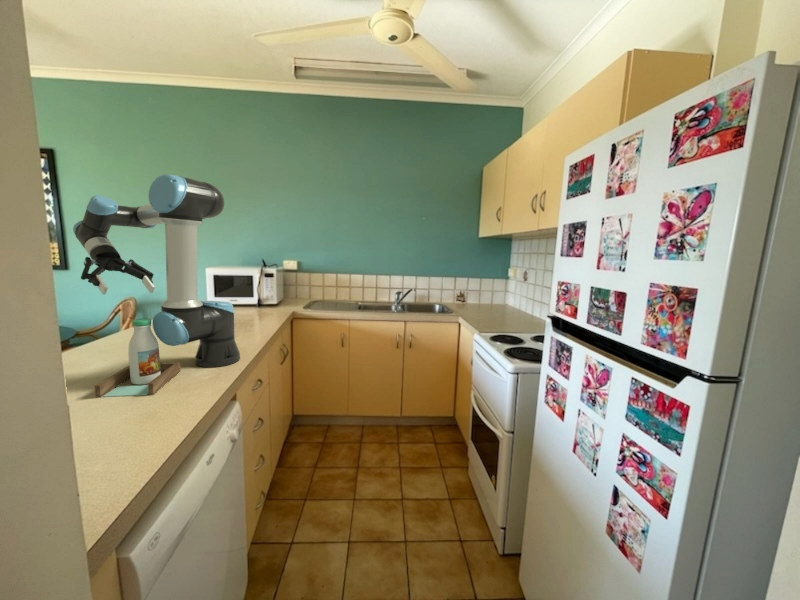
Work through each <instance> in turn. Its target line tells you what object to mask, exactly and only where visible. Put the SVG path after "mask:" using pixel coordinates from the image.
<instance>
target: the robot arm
mask: <svg viewBox="0 0 800 600" xmlns="http://www.w3.org/2000/svg"><path fill="white" fill-rule="evenodd" d="M148 201H149V204H145V205H141V206H135V207H133V206H127V205H119V204H118V202H117V201H115V200H114V199H112V198H110V197H106V196H104V195H93V196H91V198H90V199H89V201H88V203H87V205H86V208H85V211H84V215H83V219H82V220H80V221H78V222H76V223H75V224H74V225H73V228H72V231H73V233H74V235H75V237H76V239H77V240H78V242H80V244H81V246H82V247H83V248H84V250H85V252H87V254H88V256H89V257H88V256H86V257H85V259H84V262H83V266H84V268H83V270H82V273H81V276H80V279H81V280H83V281H85V280H87V282H88V283H90V284H92V285H93V286H94V287H97V288H98V290H99V291H100V293H101V295H106V294H107V291H108V289H109V286H107V284H106V283H105V281H104V280H103V278H102V277H101V274H103V273H104V272H105V271H108V272H120V273H122V274H128V275H129V276H133V277H135V278H136V279H139V280H141V283H142V285H143V286H145V288H146V289H147V291H148V292H149V293H150V294H153V293H154V290H155V288H156V286H155V285H154V281H153V278H154V273H153V272H151V271H150V270H148V269H146V268H145V267H143V266H141V265H140V264H138V263H137V262H135V261H134V260H133V259H131V258H130V259H129V261H127V260H124V259H122V257H121V254H120V253H119V252H118V250H117V249H116V248H115V246H114V244H113V243H112V242H111V241H110V240H109V238H108V234H109V231H110V230H111V228H112V226H115V227H129V228H130V227H131V228H141V229H153V228H155V227H156V226H157V225H160V224H164V229H165V231H164V232H165V234H164V235H165V265H166V267H165V271H166V273H165V274H166V275H165V276H166V277H165V279H166V300H165V301H163V302H162V303H161V305H160V306H161V307H160V308H161V311H159V312H157V313H156V314H155V315H154V317H153V318H152V328H153V331H154V333H155V335H156V336H155V337H156V338H158V339H159V341H160V342H162V343H163V344H164V345H167V346H170V347H176V346H180V345H186V344H188V343H189V344H190V343H193V342H197V341H199V345H198V346H197V350H196V353H195V357H194V363H195V365H196V366H199V367H202V368H216V367H219V368H220V367H225V366H229V365H232V364H235V363H237V362H239V361H240V360H241V352H240V350H239V348H238V345H237V342H236V340H235V338H236V337H235V312H234V305H233V304H232V302H229V301H220V300H199V298H198V290H199V289H198V286H199V285H198V227H199V226H200V225H201V224H202V223H203V219H204V220H205V219H210V218H215V217H218V216H220V215H221V213H222V212H223V210H224V207H225V199H224V196H223V194H222V192H221V191H220V190H219V188H217V186H214V185H213V184H211V183H208V182H205V181H200V180H198V179H197V180H196V179H192V178H189V177H184V176H183V175H182V176H181V175H176V174H168V173H166V174H161V175H159V176H157V177H156V178H155V179H154V180H153V181H152V183H151V184H150V187H149V190H148ZM93 265H95V266H96V268H95V269H94V270H93V271H92V272H91V273H89V271H90V268H91V267H92V266H93Z"/></svg>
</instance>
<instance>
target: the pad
mask: <svg viewBox="0 0 800 600" xmlns="http://www.w3.org/2000/svg"><path fill="white" fill-rule="evenodd" d="M147 394H148V395H149V390H148V384H143V385H124V386H123V385H122V386H121V385H119V386H117V387H116V388H114V389H113V390H111V391H110V392H108V393H107V394H105V395H104V396H102V398H110V397H111V398H112V397H115V398H116V397H132V396H133V395H137V396H148V395H147Z"/></svg>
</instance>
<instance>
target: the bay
mask: <svg viewBox="0 0 800 600" xmlns="http://www.w3.org/2000/svg"><path fill="white" fill-rule="evenodd" d="M160 371H161V374H160V375H159V376H157V377H156V378H155V379H154V380H152V381H151V382H150V383H148V384H147V385H148V390H149V394H148V395H149V396H154V395H155V394H156V393H157V391H158V390H159V389H160V388H161V387H162V388H163V387H164V385H165V384H166V383H167V382H168V383H170V382H171V381H172V380H173V379H174V378H175V377H176V376H178V375H179V374H180V373H181V363H180V362H178V361H177V362H160ZM179 372H180V373H179ZM178 373H179V374H178ZM177 374H178V375H177ZM172 378H173V379H172ZM127 379H128V380H129V379H130V366H129V365H127V366H125V367H124V368H122V369H120V370H119V371H117V372H115V373H114V374H111V375H110V376H108V377H107V378H105V379H103V380H102V381H101V382H98V383H97V384H95V385H94V392H95V398H103V396H104V395H106V394H107V393H109V392H110V391H112V389H115V387H118V385H119V386H121V385H122V384H123V383H125V382H126V381H128V380H127ZM171 379H172V380H171ZM170 380H171V381H170ZM124 381H125V382H124ZM121 383H122V384H121ZM168 383H167V384H168ZM167 384H166V385H167ZM166 385H165V386H166ZM162 388H161V389H162ZM161 389H160V390H161ZM160 390H159V391H160ZM159 391H158V392H159Z"/></svg>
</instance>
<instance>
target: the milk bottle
mask: <svg viewBox="0 0 800 600" xmlns="http://www.w3.org/2000/svg"><path fill="white" fill-rule="evenodd" d="M151 326H152V319H150V318H137V319H133V320H132V328H133V333H132V336H131V338H130V340H129V343H128V349H127V350H128V364H129V365H128V366H130V378H129V379H130V383H131V384H132V385H134V386H143V385H148V383H150V382H151V381H152V380H154V379H155V378H156V377H157V376H159V375H160V374H161V371H160V363H161V360H160V359H161V358H160V346H159V342H158V340H157V337H156V336H155V335H154V333H153V331H152V329H151Z"/></svg>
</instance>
